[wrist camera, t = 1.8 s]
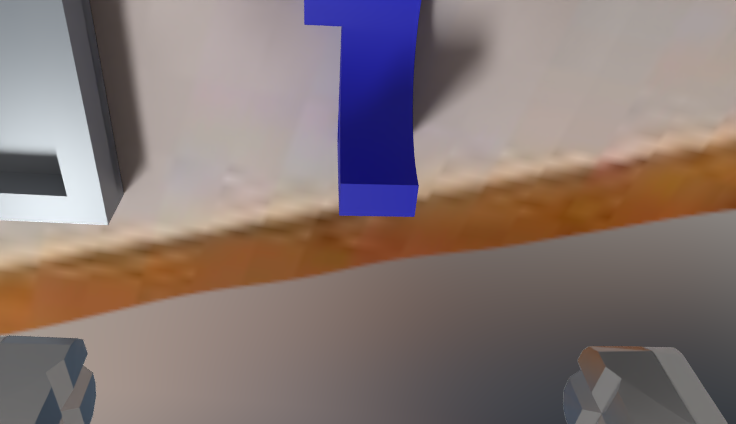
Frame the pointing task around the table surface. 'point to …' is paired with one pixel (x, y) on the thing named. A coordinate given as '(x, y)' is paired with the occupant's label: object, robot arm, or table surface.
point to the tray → (54, 116)
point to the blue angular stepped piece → (374, 103)
